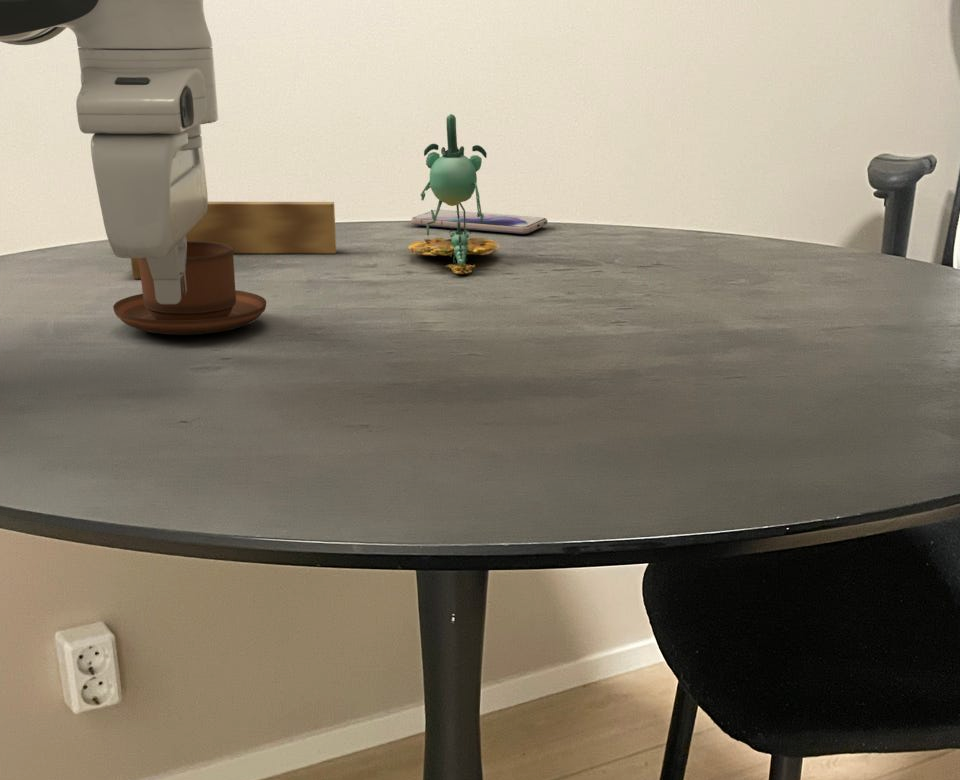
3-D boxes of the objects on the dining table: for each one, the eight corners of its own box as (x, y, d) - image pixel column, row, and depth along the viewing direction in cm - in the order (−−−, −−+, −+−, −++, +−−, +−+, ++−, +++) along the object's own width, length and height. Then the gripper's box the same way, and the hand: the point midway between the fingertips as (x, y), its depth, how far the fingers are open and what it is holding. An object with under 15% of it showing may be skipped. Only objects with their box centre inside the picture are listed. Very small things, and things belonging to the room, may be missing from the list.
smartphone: (527, 227, 142) (409, 218, 147) (526, 236, 142) (409, 226, 148) (549, 217, 148) (435, 208, 153) (549, 225, 148) (435, 216, 153)
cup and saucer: (90, 324, 102) (79, 246, 99) (219, 305, 109) (213, 231, 106) (161, 353, 93) (152, 269, 91) (296, 330, 101) (292, 251, 98)
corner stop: (95, 279, 118) (88, 224, 116) (126, 251, 131) (120, 201, 129) (329, 279, 119) (327, 224, 117) (336, 251, 133) (334, 201, 130)
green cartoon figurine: (386, 274, 122) (384, 109, 116) (422, 262, 138) (421, 117, 133) (484, 277, 120) (486, 110, 115) (508, 264, 137) (511, 118, 132)
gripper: (133, 85, 94) (154, 273, 101) (68, 105, 76) (98, 332, 82) (217, 85, 95) (233, 272, 101) (173, 105, 77) (194, 332, 83)
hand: (172, 300), depth 92 cm, fingers closed
